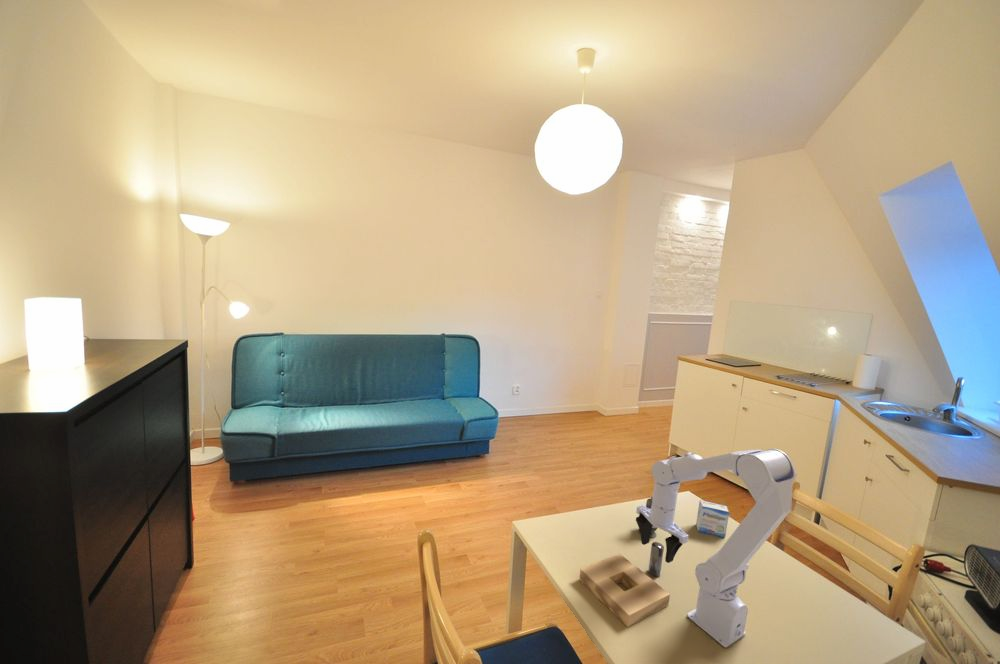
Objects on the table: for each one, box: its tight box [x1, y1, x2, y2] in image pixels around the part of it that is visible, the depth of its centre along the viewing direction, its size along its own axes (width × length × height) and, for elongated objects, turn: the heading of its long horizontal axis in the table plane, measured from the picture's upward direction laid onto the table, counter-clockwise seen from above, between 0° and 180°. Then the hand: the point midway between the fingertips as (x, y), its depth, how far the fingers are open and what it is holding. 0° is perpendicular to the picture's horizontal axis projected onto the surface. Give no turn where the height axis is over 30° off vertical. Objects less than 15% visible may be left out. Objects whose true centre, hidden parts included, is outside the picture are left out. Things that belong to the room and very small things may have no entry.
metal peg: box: [647, 541, 665, 578], centre depth 109 cm, size 3×3×8 cm
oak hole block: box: [578, 553, 671, 628], centre depth 102 cm, size 16×14×3 cm
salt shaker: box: [637, 496, 658, 539], centre depth 127 cm, size 6×6×12 cm
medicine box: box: [695, 500, 730, 538], centre depth 131 cm, size 8×4×9 cm, turn 73°
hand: (656, 552), depth 109 cm, fingers open, 7 cm apart
